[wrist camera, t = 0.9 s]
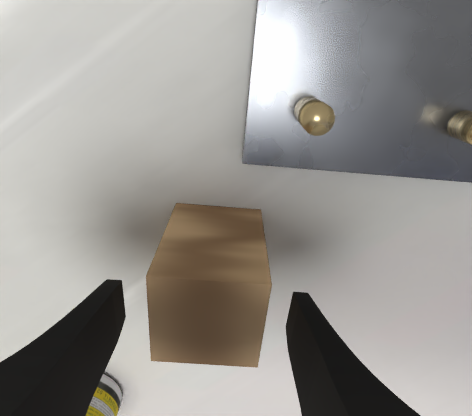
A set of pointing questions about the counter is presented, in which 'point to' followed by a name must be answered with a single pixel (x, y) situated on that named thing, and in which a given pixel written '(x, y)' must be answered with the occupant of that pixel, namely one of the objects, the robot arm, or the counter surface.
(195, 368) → the counter surface
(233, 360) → the oak block
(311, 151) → the plate
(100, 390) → the supplement bottle
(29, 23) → the counter surface
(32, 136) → the counter surface
